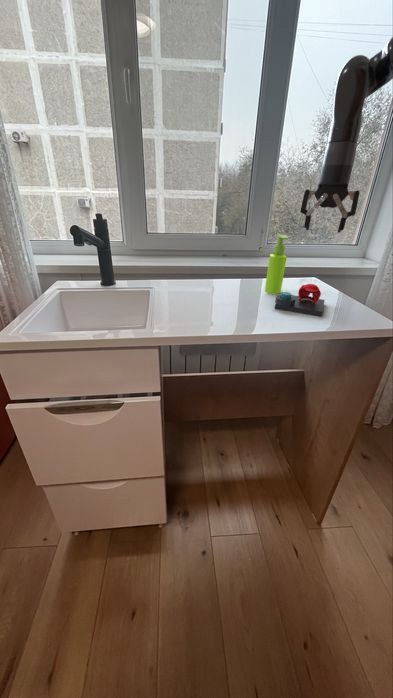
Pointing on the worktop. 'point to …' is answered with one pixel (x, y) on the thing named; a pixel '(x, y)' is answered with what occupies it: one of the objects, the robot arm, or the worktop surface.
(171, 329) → the worktop surface
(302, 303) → the scale
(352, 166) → the robot arm
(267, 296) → the worktop surface
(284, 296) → the tare button
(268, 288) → the soap dispenser
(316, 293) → the cap
